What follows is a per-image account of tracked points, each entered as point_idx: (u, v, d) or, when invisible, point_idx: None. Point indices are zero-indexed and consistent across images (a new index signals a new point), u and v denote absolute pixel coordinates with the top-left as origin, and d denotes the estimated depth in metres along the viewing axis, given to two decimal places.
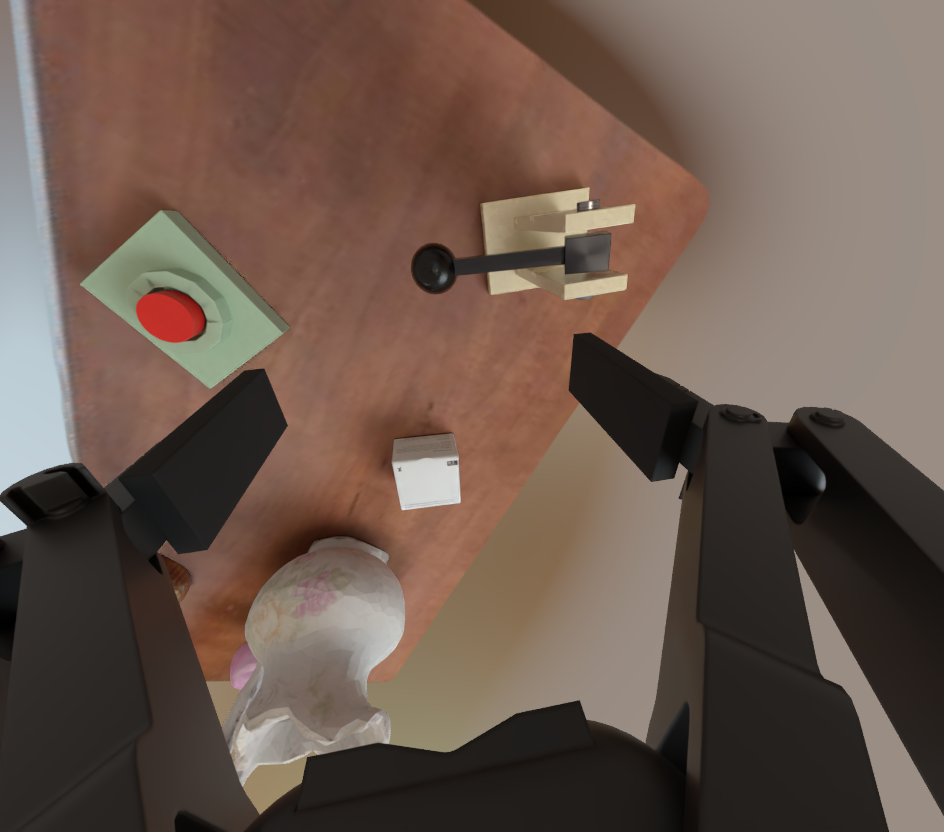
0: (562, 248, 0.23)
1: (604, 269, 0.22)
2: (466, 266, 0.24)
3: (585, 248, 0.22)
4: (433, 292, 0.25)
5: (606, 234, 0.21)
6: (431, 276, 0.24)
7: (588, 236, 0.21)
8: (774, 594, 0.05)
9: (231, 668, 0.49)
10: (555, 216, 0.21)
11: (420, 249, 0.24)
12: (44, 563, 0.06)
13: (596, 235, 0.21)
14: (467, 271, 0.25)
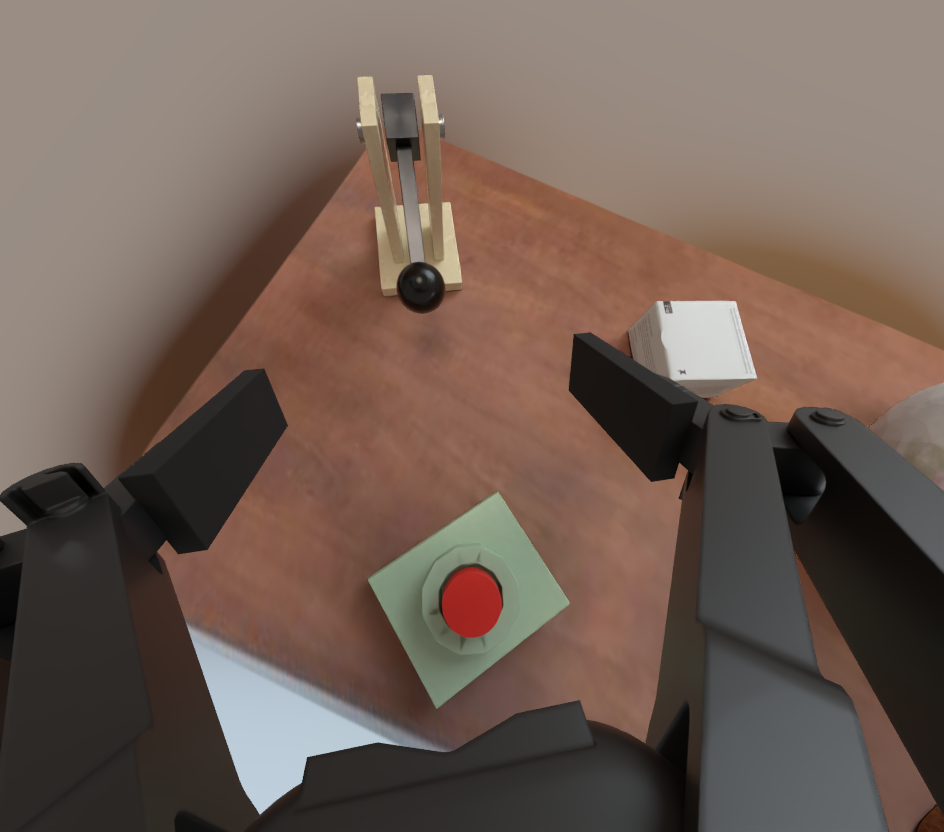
0: (397, 148, 0.23)
1: (412, 96, 0.22)
2: (416, 248, 0.24)
3: (394, 117, 0.22)
4: (441, 283, 0.24)
5: (381, 98, 0.22)
6: (422, 276, 0.23)
7: (384, 116, 0.22)
8: (774, 594, 0.05)
9: None
10: (368, 153, 0.23)
11: (400, 295, 0.24)
12: (44, 563, 0.06)
13: (383, 109, 0.22)
14: (420, 248, 0.24)
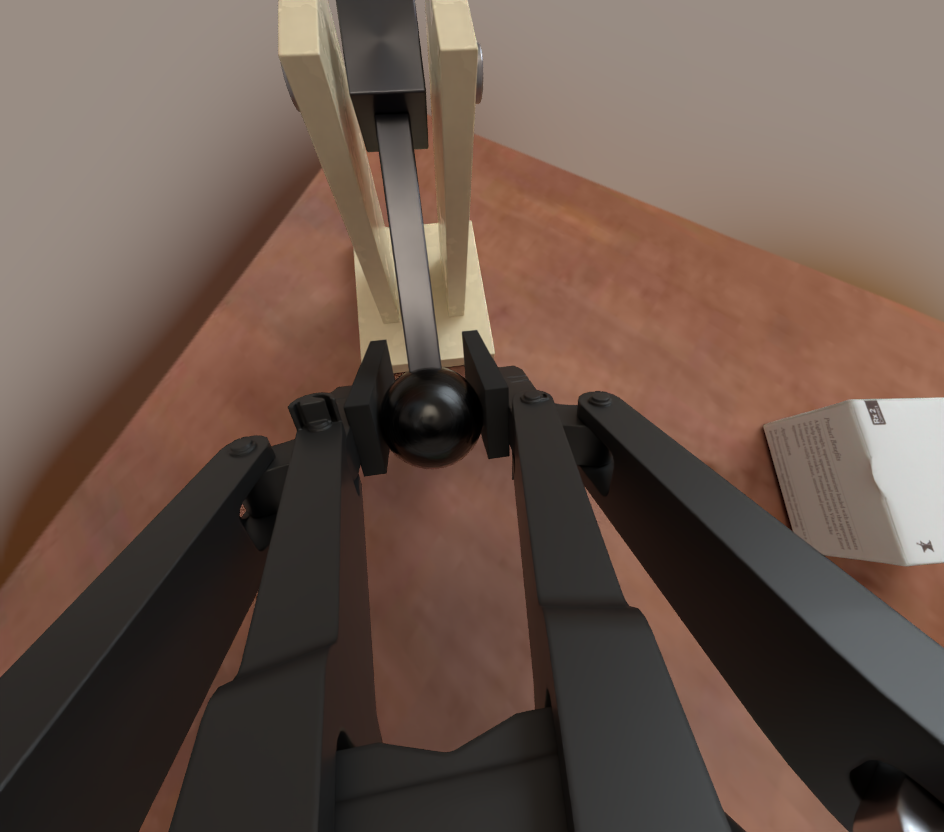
0: (376, 118, 0.10)
1: None
2: (420, 340, 0.11)
3: (367, 43, 0.09)
4: (477, 416, 0.11)
5: None
6: (437, 413, 0.10)
7: (343, 43, 0.09)
8: (585, 547, 0.05)
9: None
10: (309, 129, 0.10)
11: (387, 442, 0.11)
12: (300, 463, 0.08)
13: (341, 24, 0.09)
14: (430, 339, 0.11)
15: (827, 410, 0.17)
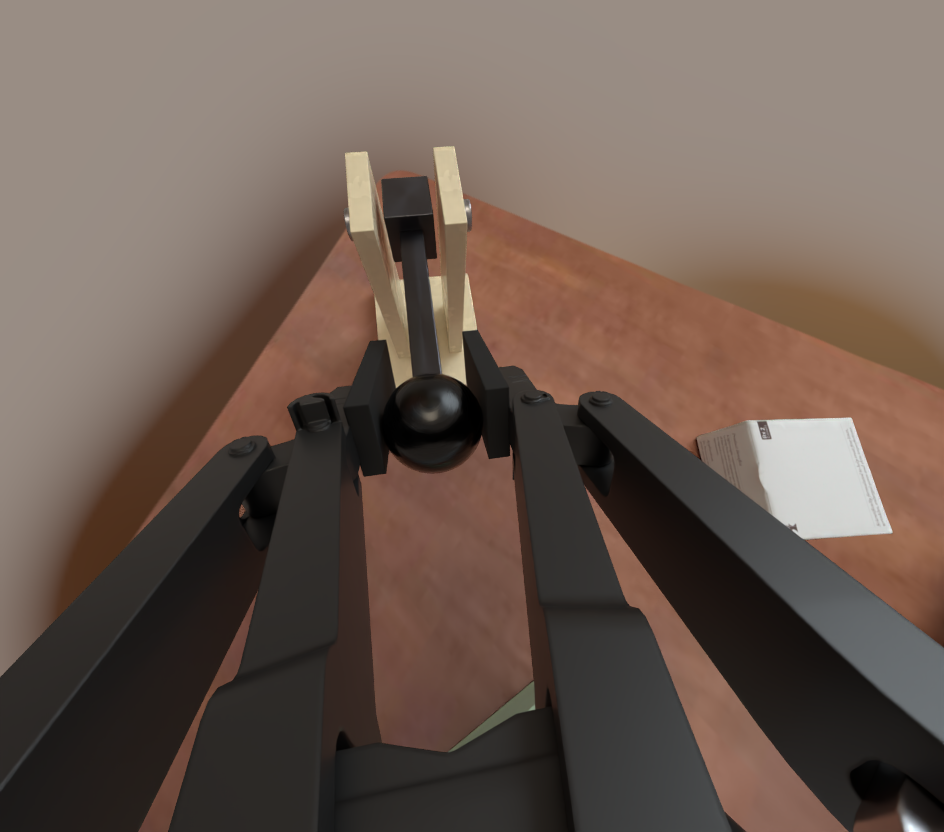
0: (400, 233, 0.15)
1: (425, 178, 0.16)
2: (424, 354, 0.13)
3: (397, 197, 0.15)
4: (475, 408, 0.11)
5: (382, 183, 0.16)
6: (435, 393, 0.11)
7: None
8: (586, 547, 0.05)
9: None
10: (362, 260, 0.16)
11: (387, 436, 0.11)
12: (300, 463, 0.08)
13: (383, 192, 0.16)
14: (432, 353, 0.13)
15: (734, 427, 0.23)
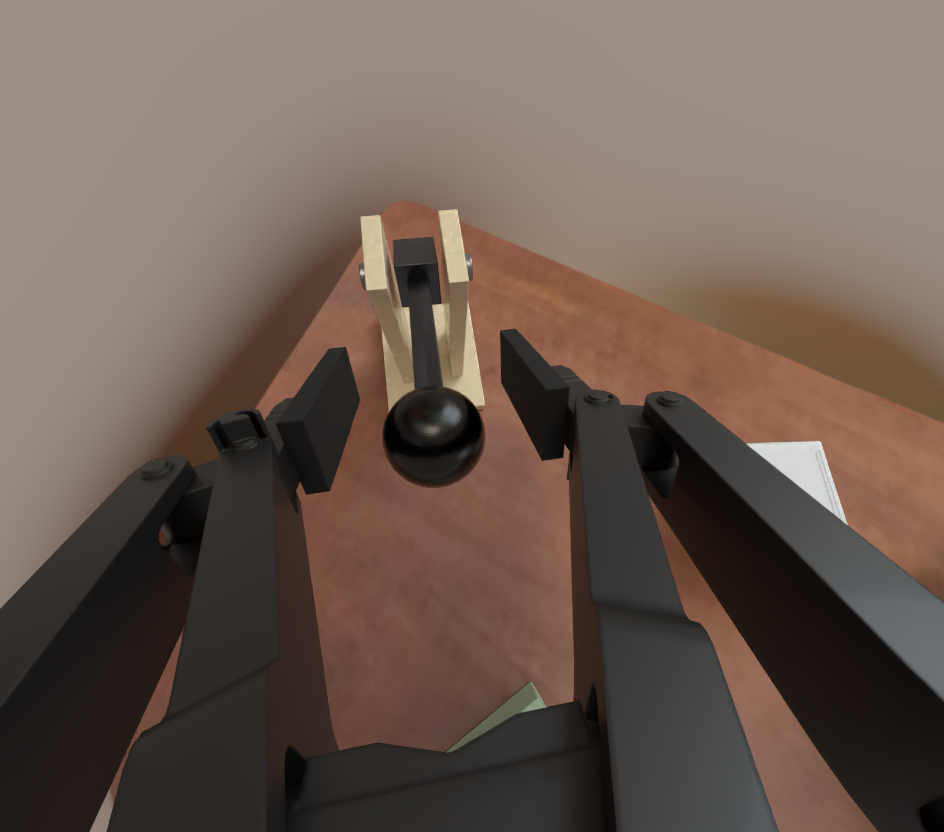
0: (408, 279, 0.17)
1: (431, 238, 0.18)
2: (427, 373, 0.13)
3: (406, 252, 0.17)
4: (476, 416, 0.11)
5: (393, 242, 0.18)
6: (436, 398, 0.11)
7: None
8: (645, 554, 0.05)
9: None
10: (375, 310, 0.18)
11: (387, 444, 0.11)
12: (226, 486, 0.07)
13: None
14: (435, 372, 0.13)
15: None
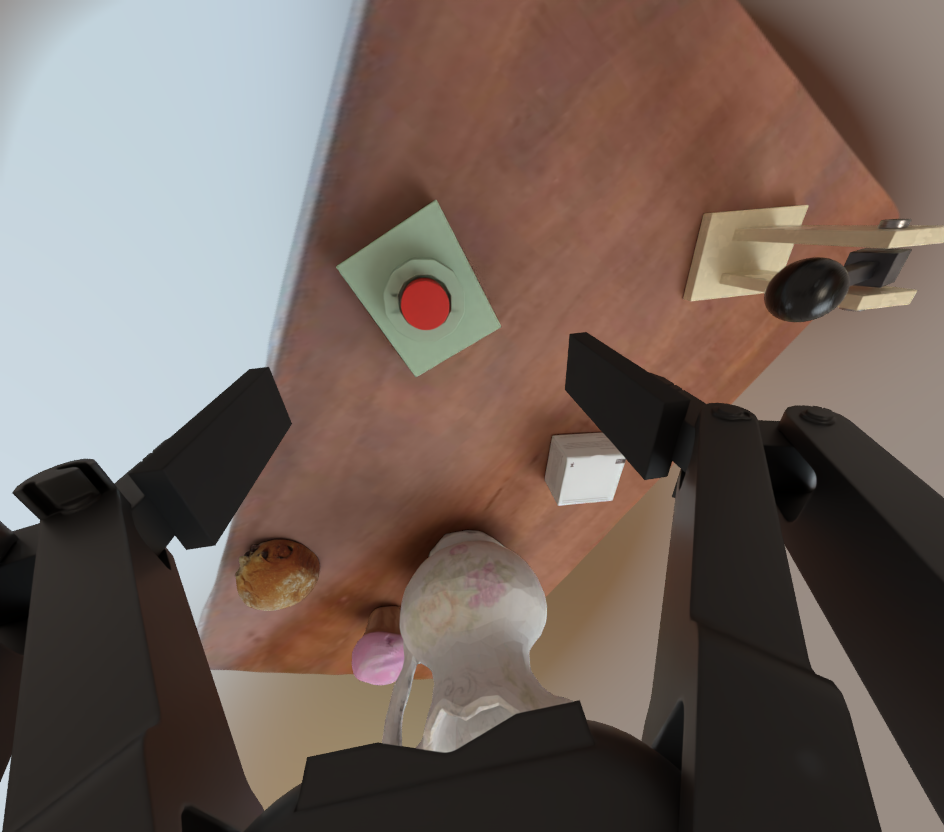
0: (878, 263, 0.23)
1: (894, 281, 0.24)
2: None
3: (899, 262, 0.23)
4: None
5: (910, 250, 0.23)
6: (843, 298, 0.19)
7: None
8: (766, 591, 0.05)
9: (357, 659, 0.48)
10: (865, 232, 0.23)
11: (828, 265, 0.18)
12: (56, 557, 0.06)
13: (905, 250, 0.23)
14: None
15: None
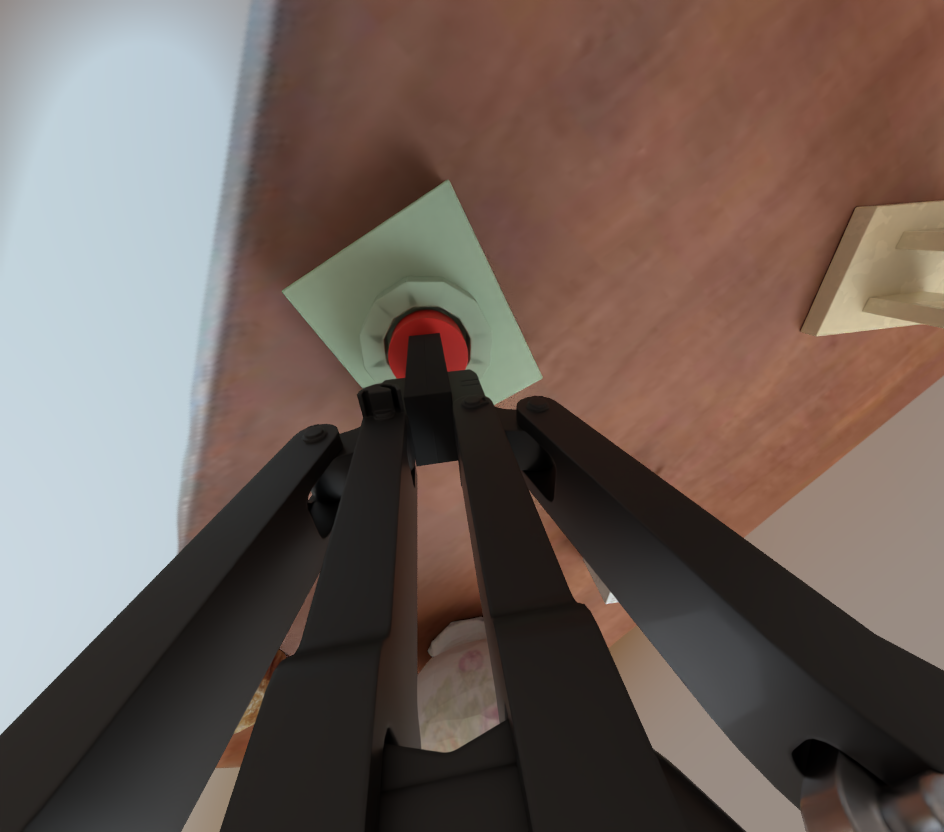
0: None
1: None
2: None
3: None
4: None
5: None
6: None
7: None
8: (532, 549, 0.05)
9: None
10: None
11: None
12: (364, 450, 0.08)
13: None
14: None
15: None
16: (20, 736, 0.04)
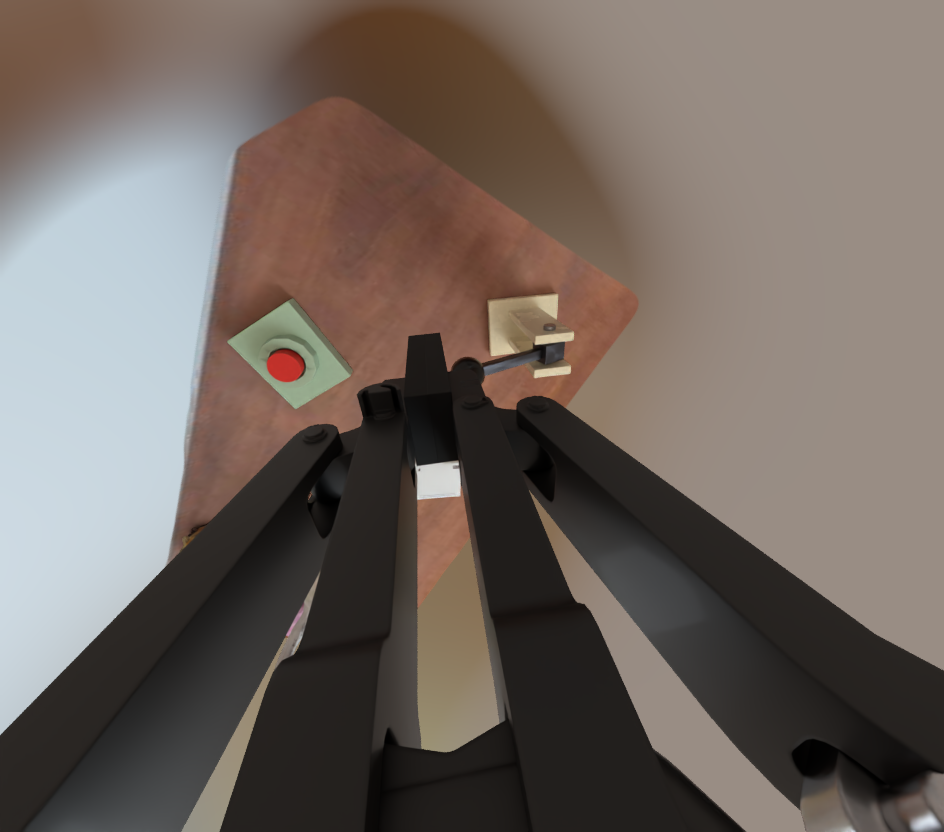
0: (541, 350, 0.38)
1: None
2: (491, 369, 0.35)
3: (554, 350, 0.38)
4: None
5: (563, 342, 0.38)
6: None
7: (555, 343, 0.38)
8: (532, 549, 0.05)
9: None
10: (530, 332, 0.38)
11: (465, 364, 0.33)
12: (364, 450, 0.08)
13: (558, 343, 0.38)
14: (491, 372, 0.36)
15: None
16: (20, 736, 0.04)
